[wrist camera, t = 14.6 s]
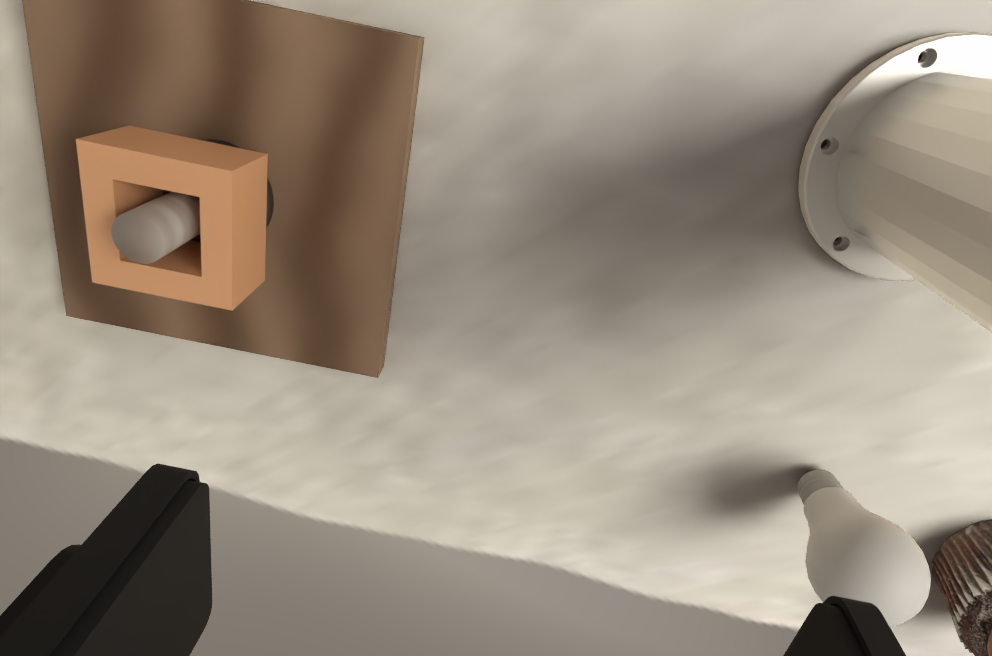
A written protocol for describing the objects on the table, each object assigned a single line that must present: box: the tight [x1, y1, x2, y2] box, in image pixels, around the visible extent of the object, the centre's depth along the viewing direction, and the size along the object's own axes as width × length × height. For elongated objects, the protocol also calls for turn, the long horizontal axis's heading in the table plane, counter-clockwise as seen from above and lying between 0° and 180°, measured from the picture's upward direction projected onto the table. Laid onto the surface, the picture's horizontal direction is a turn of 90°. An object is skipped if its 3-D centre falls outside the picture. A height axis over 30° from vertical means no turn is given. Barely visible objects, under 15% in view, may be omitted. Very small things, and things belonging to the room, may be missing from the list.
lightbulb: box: [797, 470, 931, 627], centre depth 38 cm, size 6×6×11 cm
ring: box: [76, 126, 268, 311], centre depth 31 cm, size 7×7×4 cm
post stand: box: [22, 0, 424, 378], centre depth 32 cm, size 20×20×10 cm
